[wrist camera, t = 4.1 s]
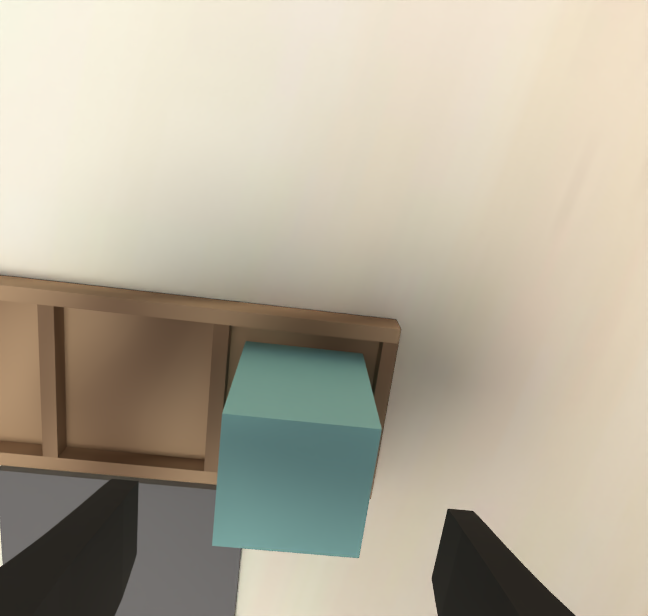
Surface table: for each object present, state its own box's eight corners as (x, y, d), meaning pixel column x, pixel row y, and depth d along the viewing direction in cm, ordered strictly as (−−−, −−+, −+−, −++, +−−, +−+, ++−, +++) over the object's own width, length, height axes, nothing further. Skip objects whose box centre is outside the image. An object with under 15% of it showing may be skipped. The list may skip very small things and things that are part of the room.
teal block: (362, 353, 18) (381, 429, 13) (346, 455, 19) (359, 557, 14) (245, 340, 18) (221, 413, 13) (236, 444, 19) (212, 545, 14)
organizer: (396, 319, 18) (401, 329, 17) (367, 481, 20) (370, 498, 19) (-124, 261, 17) (-149, 268, 16) (-101, 438, 19) (-123, 453, 18)
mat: (246, 487, 20) (246, 492, 20) (229, 666, 22) (228, 673, 22) (0, 465, 19) (-4, 470, 19) (13, 651, 22) (9, 657, 22)
